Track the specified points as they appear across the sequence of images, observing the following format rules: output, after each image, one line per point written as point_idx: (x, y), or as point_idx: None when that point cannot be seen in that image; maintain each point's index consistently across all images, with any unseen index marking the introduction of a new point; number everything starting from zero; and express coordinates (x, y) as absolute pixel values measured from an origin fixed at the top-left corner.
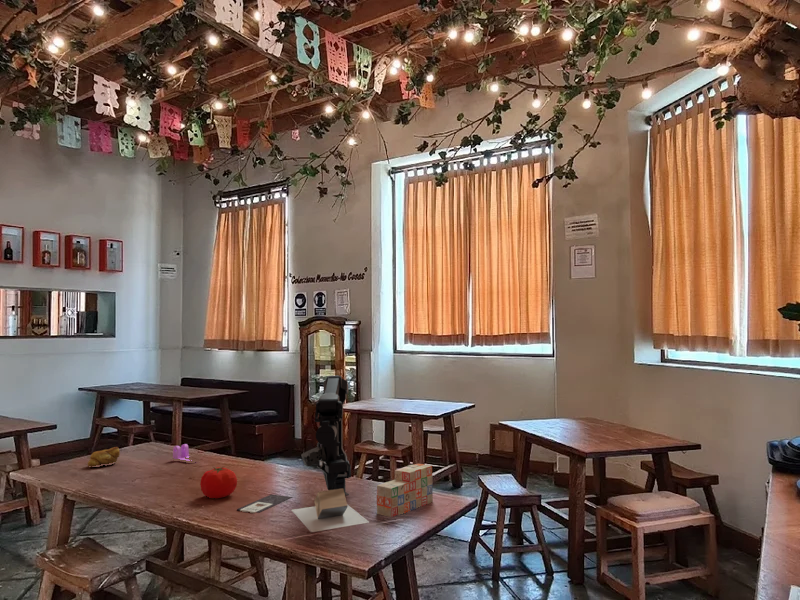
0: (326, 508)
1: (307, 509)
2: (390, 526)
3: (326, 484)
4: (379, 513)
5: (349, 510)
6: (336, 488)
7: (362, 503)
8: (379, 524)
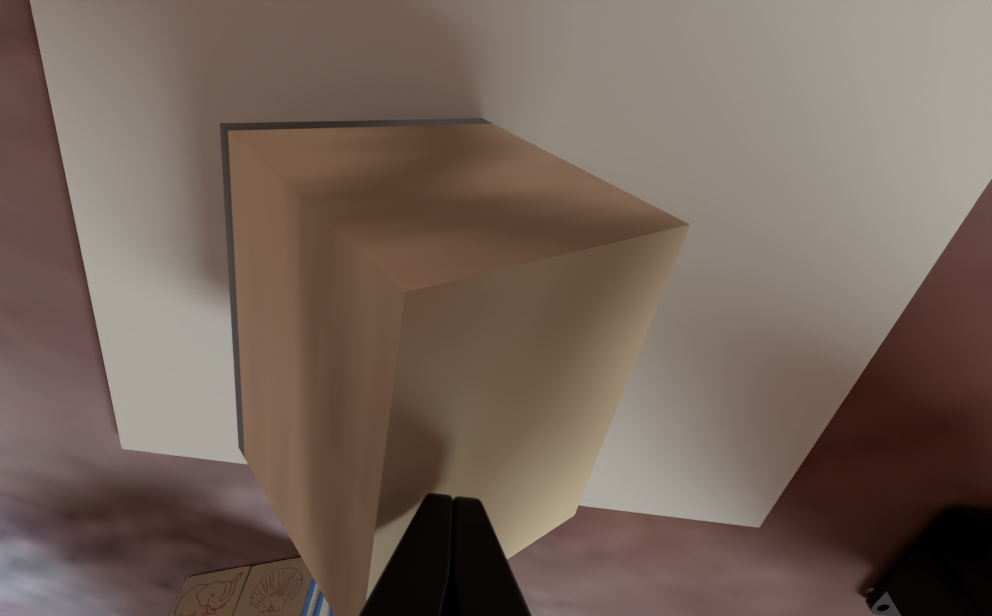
0: (233, 209)
1: (897, 189)
2: (5, 508)
3: (491, 581)
4: (289, 570)
5: None
6: (979, 612)
7: (633, 589)
8: (82, 479)
